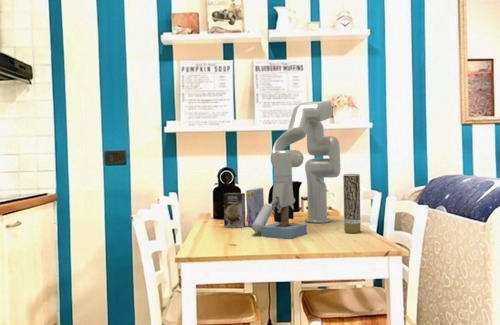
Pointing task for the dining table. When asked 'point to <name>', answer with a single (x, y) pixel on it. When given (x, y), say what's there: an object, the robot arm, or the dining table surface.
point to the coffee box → (234, 210)
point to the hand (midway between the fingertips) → (284, 220)
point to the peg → (284, 217)
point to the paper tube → (351, 203)
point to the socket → (284, 230)
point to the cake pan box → (254, 204)
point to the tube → (262, 217)
